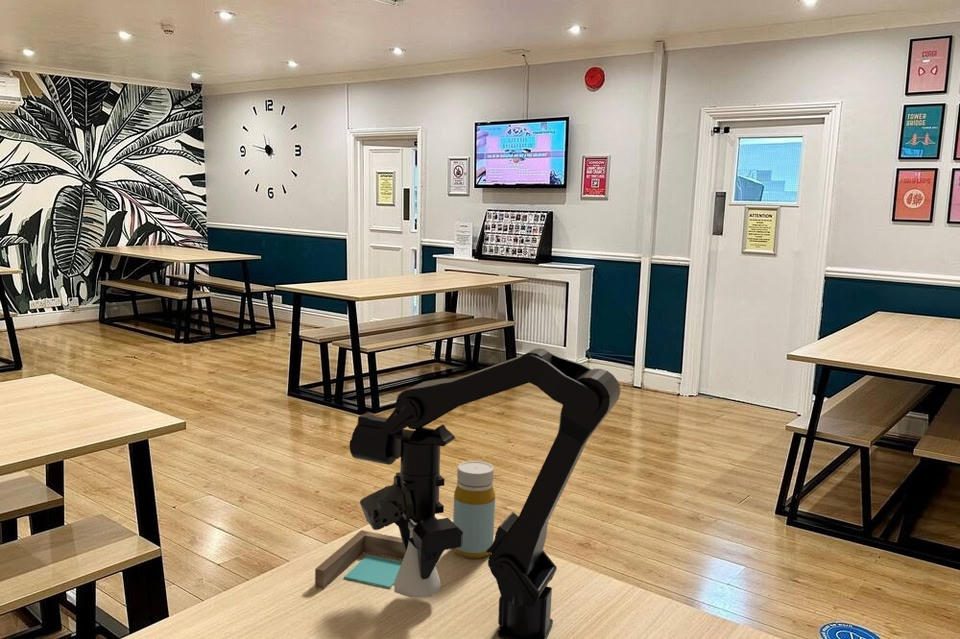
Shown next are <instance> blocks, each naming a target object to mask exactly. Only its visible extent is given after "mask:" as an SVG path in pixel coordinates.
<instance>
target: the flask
mask: <svg viewBox="0 0 960 639" xmlns="http://www.w3.org/2000/svg"><path fill="white" fill-rule="evenodd" d="M408 526H409V530H410V538H413V529H414V528H415V527H416V525H414V524H413V523H412V522H411V521H410V522H409V523H408ZM401 562H402V564H401V566H400V569H399V571H398V574H397V576H396V579H395V581H394V585H393V587H394V589H393V591H394V593H397V594H399V595H402V596H405V597H407V598H411V599H412V598H431V597H432V596H434V595H435V594H436V593H437V592H439V591H440V590H441V589H442V586H441V579H440V576H439V572H438V570H437V567H436V566H435V567H434V569H433V571H432V573H431V575H430V577H429V578H428V579H421V575H420V569H419V561H418V553H417V549H416V548H415V547H414V546H413V545H412V544H411V543H410V541H409V543H408V548H407V550H406V553H405V556H404V558H403V560H402V561H401Z"/></svg>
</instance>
